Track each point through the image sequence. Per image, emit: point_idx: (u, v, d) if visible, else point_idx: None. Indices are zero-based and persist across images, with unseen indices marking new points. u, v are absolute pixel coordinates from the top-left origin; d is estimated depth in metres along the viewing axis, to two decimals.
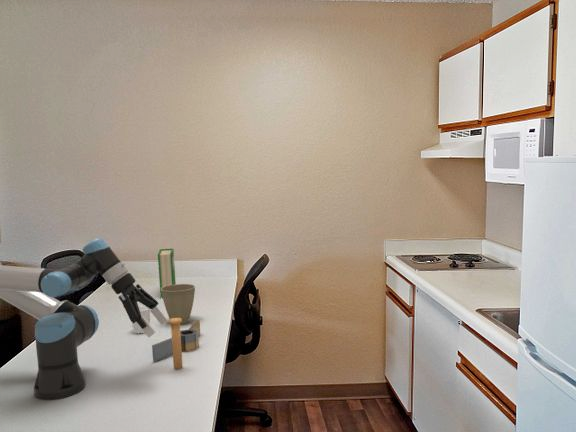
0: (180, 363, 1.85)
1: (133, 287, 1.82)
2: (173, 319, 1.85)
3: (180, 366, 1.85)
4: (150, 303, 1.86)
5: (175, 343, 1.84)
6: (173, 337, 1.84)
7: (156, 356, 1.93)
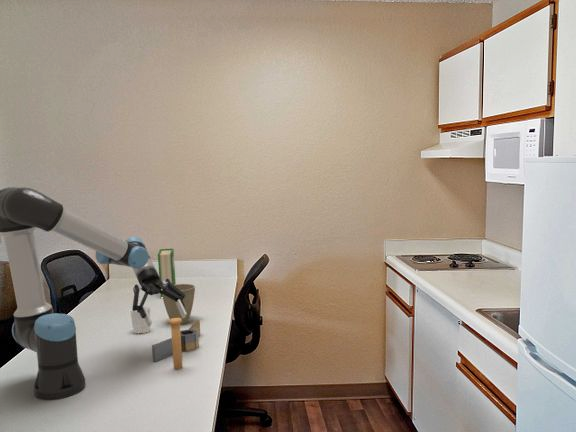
0: (180, 363, 1.85)
1: None
2: (173, 319, 1.85)
3: (180, 366, 1.85)
4: None
5: (175, 343, 1.84)
6: (173, 337, 1.84)
7: (156, 356, 1.93)
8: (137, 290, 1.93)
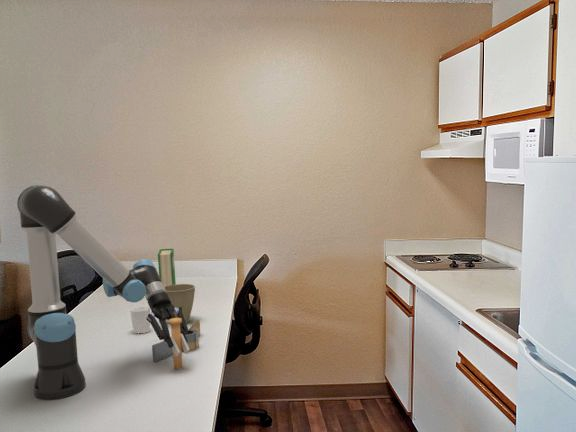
0: (180, 363, 1.85)
1: None
2: (173, 319, 1.85)
3: (180, 366, 1.85)
4: None
5: None
6: (173, 337, 1.84)
7: (156, 356, 1.93)
8: (153, 319, 1.86)
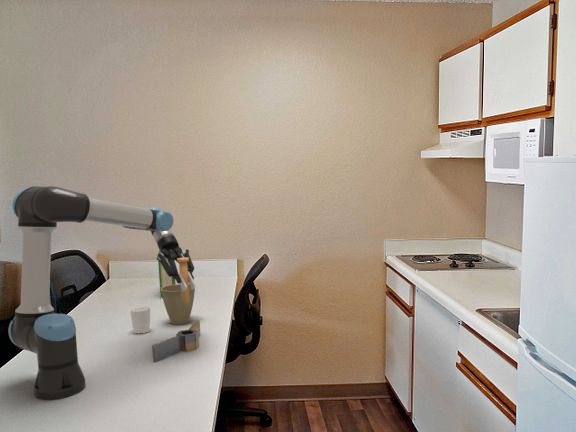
0: (187, 298, 2.03)
1: None
2: (181, 258, 2.03)
3: (187, 301, 2.04)
4: None
5: None
6: (181, 274, 2.02)
7: (156, 356, 1.93)
8: (163, 258, 2.04)
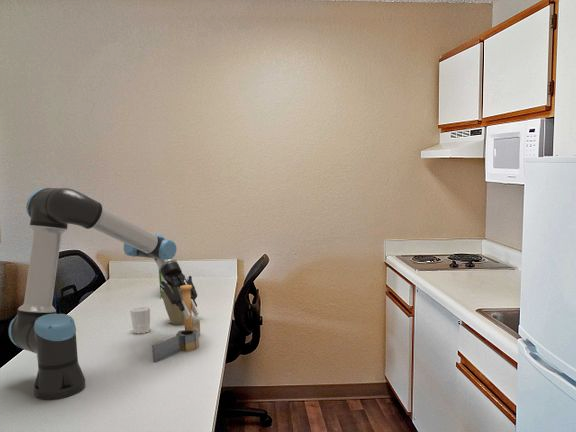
0: (190, 325, 2.05)
1: None
2: (184, 286, 2.05)
3: (190, 328, 2.05)
4: None
5: None
6: None
7: (156, 356, 1.93)
8: (166, 285, 2.05)
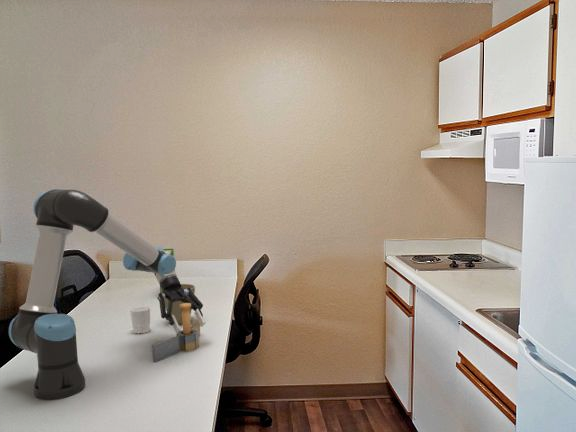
0: None
1: None
2: (183, 304, 2.05)
3: None
4: None
5: (186, 325, 2.04)
6: (183, 320, 2.04)
7: (156, 356, 1.93)
8: (162, 298, 2.05)
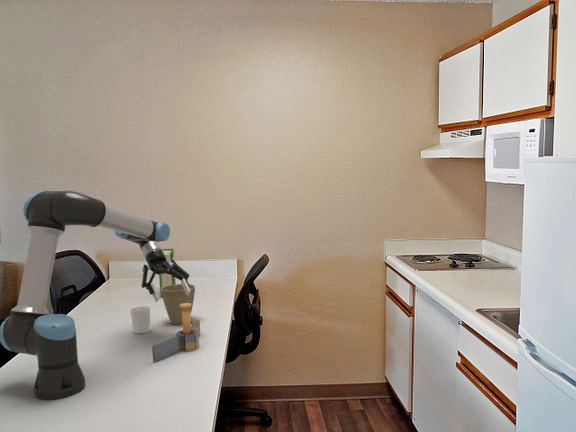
0: None
1: None
2: (184, 304, 2.05)
3: None
4: None
5: (186, 325, 2.04)
6: (184, 320, 2.04)
7: (156, 356, 1.93)
8: (146, 269, 2.14)
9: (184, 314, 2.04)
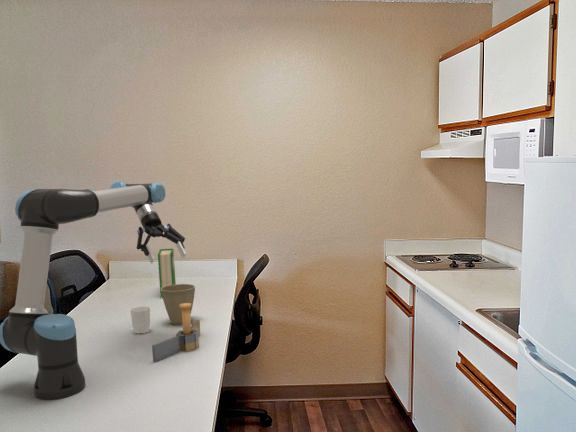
0: None
1: None
2: (183, 304, 2.05)
3: None
4: (146, 244, 2.11)
5: (186, 325, 2.04)
6: (184, 320, 2.04)
7: (156, 356, 1.93)
8: (141, 231, 2.12)
9: (184, 314, 2.04)
